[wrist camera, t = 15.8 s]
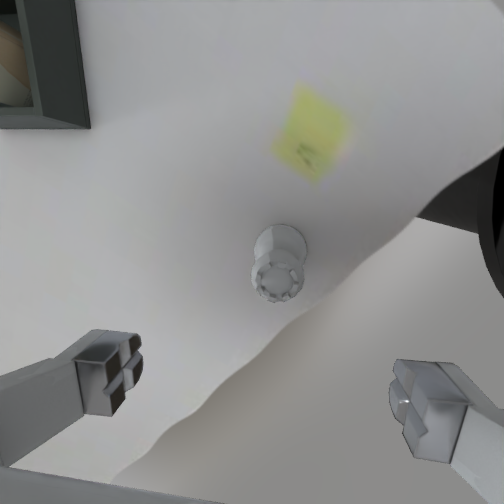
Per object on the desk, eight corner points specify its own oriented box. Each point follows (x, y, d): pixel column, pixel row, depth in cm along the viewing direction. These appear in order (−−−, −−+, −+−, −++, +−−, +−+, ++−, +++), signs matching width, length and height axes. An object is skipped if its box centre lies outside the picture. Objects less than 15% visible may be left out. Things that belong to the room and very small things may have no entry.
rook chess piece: (247, 233, 23) (227, 259, 15) (297, 216, 22) (302, 234, 14) (264, 279, 23) (253, 325, 16) (313, 264, 22) (326, 306, 15)
